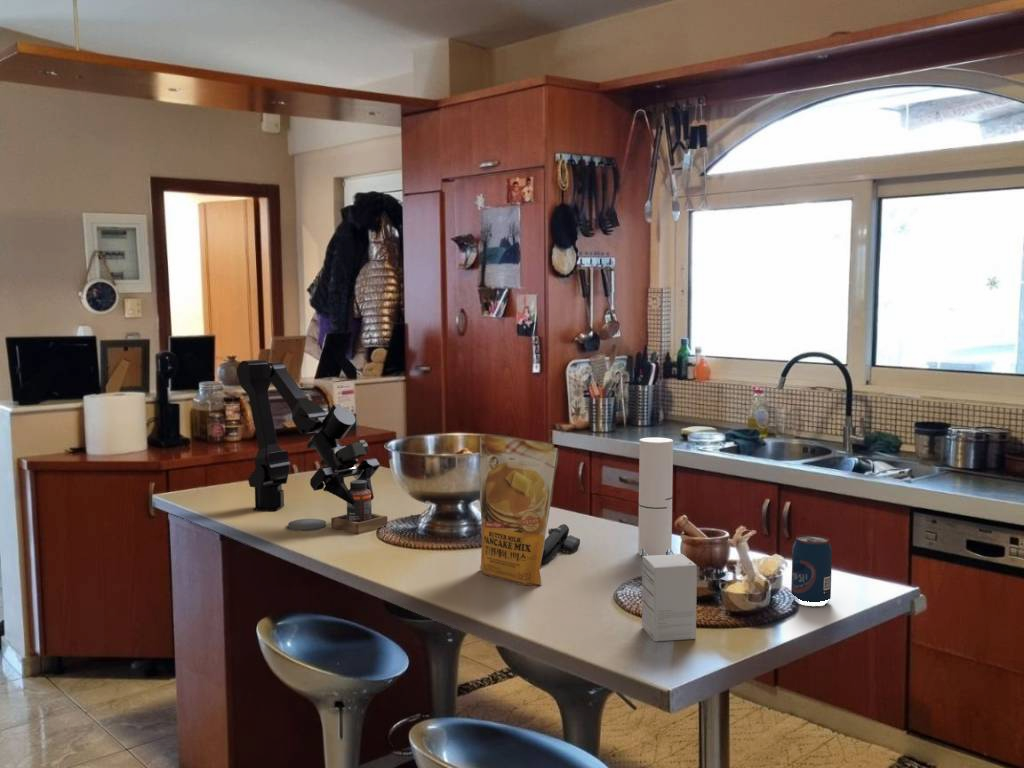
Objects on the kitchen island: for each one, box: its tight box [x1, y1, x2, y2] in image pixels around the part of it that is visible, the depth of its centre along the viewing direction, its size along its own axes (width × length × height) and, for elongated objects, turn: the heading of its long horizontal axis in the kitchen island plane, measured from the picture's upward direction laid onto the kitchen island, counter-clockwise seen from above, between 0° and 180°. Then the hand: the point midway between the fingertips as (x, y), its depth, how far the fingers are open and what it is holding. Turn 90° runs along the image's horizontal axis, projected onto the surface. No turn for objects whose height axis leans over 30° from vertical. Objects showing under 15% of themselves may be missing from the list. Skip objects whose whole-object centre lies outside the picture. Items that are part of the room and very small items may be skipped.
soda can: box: [790, 534, 833, 602], centre depth 180 cm, size 7×7×12 cm
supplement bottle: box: [346, 479, 373, 522], centre depth 237 cm, size 6×6×11 cm
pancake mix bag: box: [478, 434, 560, 586], centre depth 196 cm, size 7×19×28 cm, turn 48°
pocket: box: [330, 513, 389, 535], centre depth 238 cm, size 10×10×2 cm
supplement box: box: [641, 553, 698, 643], centre depth 164 cm, size 7×7×13 cm
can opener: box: [540, 523, 581, 566], centre depth 213 cm, size 18×7×6 cm, turn 157°
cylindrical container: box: [637, 437, 674, 556], centre depth 213 cm, size 7×7×25 cm
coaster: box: [287, 518, 327, 532], centre depth 239 cm, size 9×9×1 cm
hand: (363, 501), depth 236 cm, fingers closed on supplement bottle, 6 cm apart
